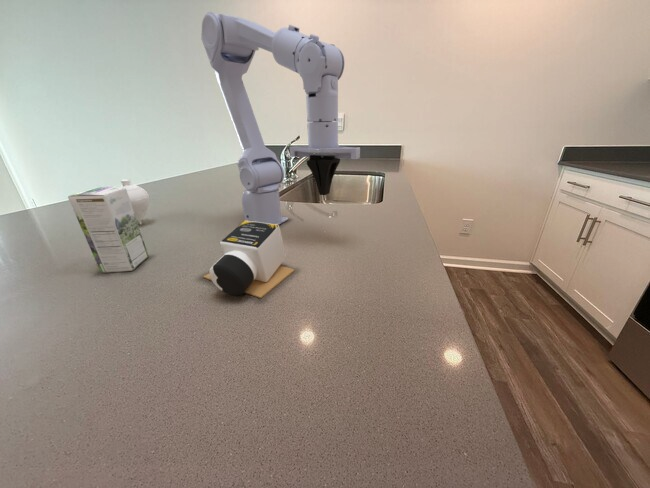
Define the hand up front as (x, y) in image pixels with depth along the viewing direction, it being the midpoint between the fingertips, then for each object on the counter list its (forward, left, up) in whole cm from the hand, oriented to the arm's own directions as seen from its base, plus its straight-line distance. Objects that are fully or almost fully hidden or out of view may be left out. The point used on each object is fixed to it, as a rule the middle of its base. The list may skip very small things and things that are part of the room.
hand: (324, 193), depth 54 cm
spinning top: (-50, -13, -11) cm, 53 cm away
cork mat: (-5, -19, -10) cm, 22 cm away
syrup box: (-29, -27, -11) cm, 41 cm away
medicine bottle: (-4, -14, -5) cm, 16 cm away
